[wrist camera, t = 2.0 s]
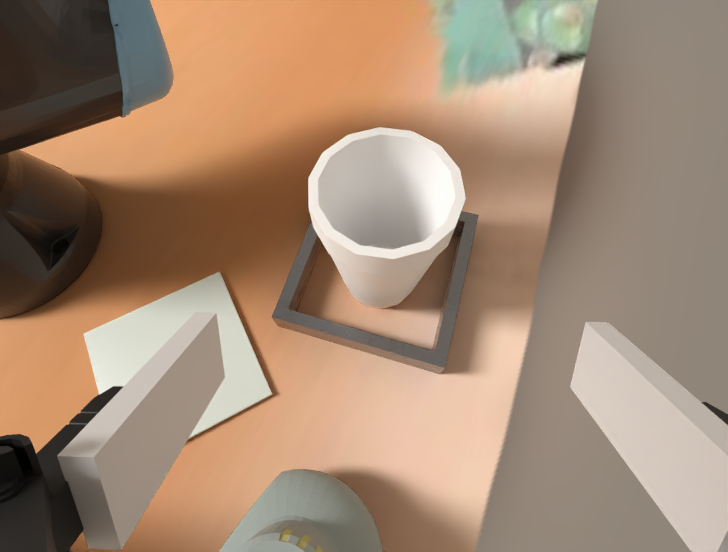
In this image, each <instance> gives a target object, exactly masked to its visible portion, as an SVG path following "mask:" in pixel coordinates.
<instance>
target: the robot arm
mask: <svg viewBox="0 0 728 552" xmlns="http://www.w3.org/2000/svg"><path fill="white" fill-rule="evenodd" d="M172 84H173V69H172V65H171V61H170V58H169V55H168V52H167V48H166V45H165V42H164V39H163V36H162V33H161V30H160V28H159V25H158V22H157V19H156V16H155V14H154V11H153V8H152V5H151V2H150V0H0V318H4V317H9V316H13V315H17V314H20V313H23V312H26V311H29V310H31V309H34V308H36V307H38V306H40V305H42V304H44V303H45V302H47V301H49V300H50V299H52V298H54V297H55V296H56V295H58V294H59V293H61V292H62V291H63V290H64V289H66V288H67V287H68V286H69V285H70V284H71V283H72V282H73V281H74V280H75V279H76V278H77V277H78V276H79V275H80V274H81V272H82V271H83V270H84V269H85V267H86V266H87V265H88V263H89V261H90V260H91V258H92V256H93V255H94V252H95V250H96V248H97V245H98V243H99V239H100V235H101V229H102V217H101V212H100V208H99V205H98V203H97V201H96V199H95V198H94V196H93V195H92V194H91V193H90V192H89V191H88V190H87V189H86V188H85V187H84V186H83V185H82V184H81V183H80V182H79V181H78V180H77V179H75V178H74V177H73V176H72V175H70V174H69V173H67V172H66V171H64V170H62V169H61V168H58V167H56V166H54V165H51V164H49V163H47V162H45V161H43V160H40V159H38V158H36V157H34V156H32V155H29V154H27V153H25V152H23V151H21V150H19V149H22V148H25V147H28V146H31V145H34V144H37V143H40V142H43V141H46V140H49V139H52V138H55V137H58V136H61V135H64V134H67V133H70V132H73V131H76V130H79V129H82V128H85V127H88V126H91V125H94V124H97V123H100V122H103V121H106V120H109V119H112V118H115V117H118V116H120V117H122V118H123V117H126V115H129V114H130V112H131V111H132V110H135V109H137V108H140V107H142V106H145V105H147V104H150V103H152V102H155V101H157V100H160V99H162V98H163V97H164V96H166V95H167V94H168V93H169V91H170V89H171V87H172ZM224 378H225V373H224V365H223V358H222V350H221V343H220V335H219V328H218V320H217V313H211V312H195V313H194V314H193V315H192V316H191V317H190V318H189V319H188V320H187V321H186V322H185V323H184V324H183V326H182V327H181V328H180V329H179V330H178V331H177V332H176V333H175V334H174V335H173V336H172V337H171V338H170V339H169V340H168V341H167V342H166V343H165V344H164V345H163V346H162V347H161V348H160V349H159V350H158V351H157V353H156V354H155V355H154V356H153V357H152V358H151V359H150V360H149V361H148V362H147V363H146V364H145V365H144V366H143V367H142V368H141V369H140V370H139V371H138V372H137V373H136V374H135V375H134V376H133V377H132V378H131V380H130V381H129V382H128V383H127V384H126V385H125V386H113V387H111V388H110V389H108V390H106V391H105V392H103V393H101V394H100V395H98V396H96V397H95V398H94V399H93V400H92V401H91V402H89V403H88V404H87V405H86V406H85V407H84V408H83V409H82V410H81V413H78V414H77V415H76V416H75V417H74V418H73V419H72V420H71V421H70V423H69V425H66V426H65V427H64V428H63V429H62V430H61V431H60V432H59V433H58V434H57V435H55V436H54V437H53V438H52V439H51V440H50V441H49V442H48V443H47V444H46V445H45V446H44V447H43V448H42V449H41V450H40V451H39V452H38V453H37V454H36V453H35V450H34V447H33V445H32V442H31V440H30V439H29V437H27V436H24V435H21V434H17V435H5V436H1V437H0V552H72V551H71V549H70V548H71V546H72V545H73V543H74V542H75V541H76V539H77V538H78V537H79V535H80V534H81V532H82V531H83V534H84V536H85V539H86V542H87V545H88V548H89V549H106V550H122V549H123V547H124V545H125V544H126V542H127V540H128V539H129V537H130V535H131V534H132V532H133V530H134V529H135V527H136V525H137V524H138V522H139V520H140V519H141V517H142V515H143V514H144V512H145V510H146V509H147V507H148V505H149V504H150V502H151V500H152V499H153V497H154V495H155V494H156V492H157V490H158V489H159V487H160V485H161V484H162V482H163V480H164V479H165V477H166V475H167V473H168V472H169V470H170V468H171V467H172V465H173V463H174V462H175V460H176V458H177V457H178V455H179V453H180V452H181V450H182V448H183V447H184V445H185V443H186V442H187V440H188V438H189V437H190V435H191V433H192V432H193V430H194V428H195V427H196V425H197V423H198V422H199V420H200V418H201V417H202V415H203V413H204V412H205V410H206V408H207V407H208V405H209V403H210V402H211V400H212V398H213V397H214V395H215V393H216V392H217V390H218V388H219V387H220V385H221V383H222V382H223V380H224ZM571 389H572V390H573V391H574V393H575V394H576V396H577V397H578V398H579V400H580V401H581V402H582V404H583V405H584V406H585V408H586V409H587V410H588V412H589V413H590V415H591V416H592V417H593V419H594V420H595V421H596V423H597V424H598V425H599V427H600V428H601V430H602V431H603V432H604V434H605V435H606V436H607V438H608V439H609V440H610V442H611V443H612V444H613V446H614V447H615V449H616V450H617V451H618V453H619V454H620V455H621V457H622V458H623V459H624V461H625V462H626V463H627V465H628V466H629V468H630V469H631V470H632V472H633V473H634V474H635V476H636V477H637V478H638V480H639V481H640V483H641V484H642V485H643V487H644V488H645V489H646V491H647V492H648V493H649V494H650V496H651V497H652V499H653V500H654V502H655V503H656V504H657V506H658V507H659V508H660V510H661V511H662V512H663V514H664V515H665V516H666V518H667V519H668V520H669V522H670V523H671V525H672V526H673V527H674V529H675V530H676V531H677V533H678V534H679V536H680V537H681V538H682V539H683V541H684V542H685V544H686V545H687V546H688V548H689V549H690V550H691V552H728V414H726V413H724V412H722V411H721V410H719V409H717V408H715V407H714V406H712V405H710V404H708V403H707V402H700V401H699V400H698V399H697V398H695V397H694V396H693V395H692V394H691V393H690V392H688V391H687V390H686V389H685V388H684V387H683V386H681V385H680V384H679V383H678V382H677V381H676V380H674V379H673V378H672V377H671V376H670V375H669V374H667V373H666V372H665V371H664V370H663V369H662V368H660V367H659V366H658V365H657V364H656V363H655V362H653V361H652V360H651V359H650V358H648V356H646V355H645V354H644V353H643V352H642V351H641V350H639V349H638V348H637V347H636V346H635V345H634V344H632V343H631V342H630V341H629V340H628V339H627V338H625V337H624V336H623V335H622V334H621V333H620V332H618V331H617V330H616V329H615V328H614V327H613V326H611V325H610V324H609V323H608V322H586V323H585V328H584V332H583V336H582V340H581V344H580V349H579V353H578V357H577V361H576V365H575V369H574V374H573V378H572V382H571Z"/></svg>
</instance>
